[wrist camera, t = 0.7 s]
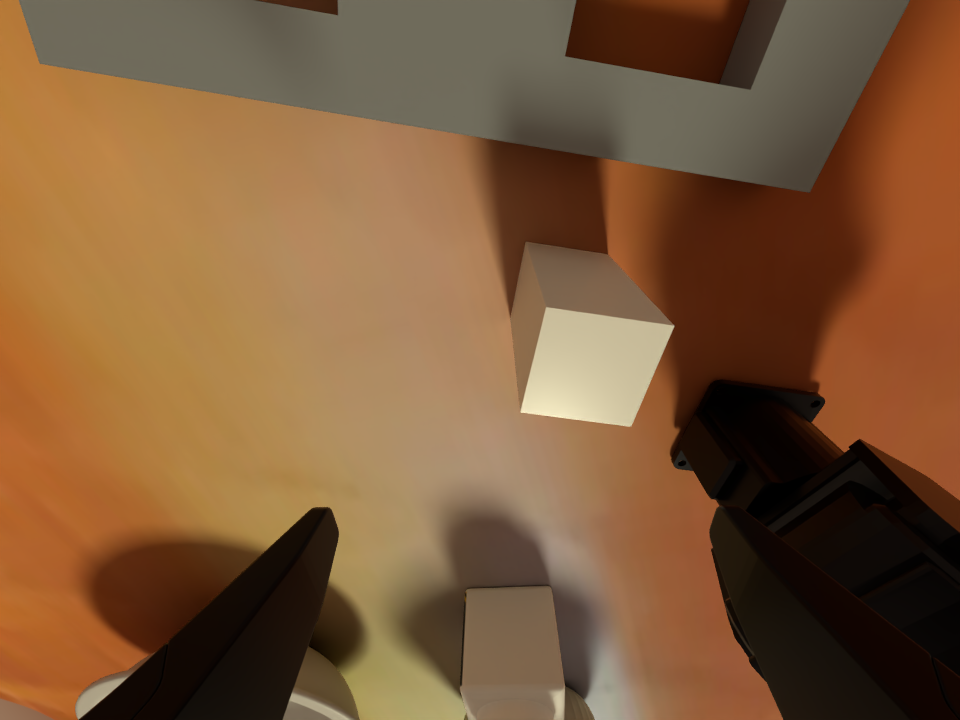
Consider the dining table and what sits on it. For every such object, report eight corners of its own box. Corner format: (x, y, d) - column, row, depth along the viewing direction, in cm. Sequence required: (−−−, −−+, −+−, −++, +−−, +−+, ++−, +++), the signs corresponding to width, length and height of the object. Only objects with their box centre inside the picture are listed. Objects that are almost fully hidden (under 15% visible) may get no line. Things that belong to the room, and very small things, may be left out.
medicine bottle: (464, 586, 33) (453, 796, 23) (551, 583, 33) (580, 796, 22) (473, 632, 37) (467, 830, 26) (552, 629, 36) (577, 831, 26)
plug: (607, 254, 19) (674, 325, 12) (584, 328, 21) (630, 426, 14) (525, 241, 19) (546, 307, 12) (510, 318, 21) (520, 412, 14)
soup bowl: (155, 687, 44) (105, 770, 38) (116, 558, 32) (36, 651, 27) (373, 717, 47) (356, 799, 41) (409, 608, 35) (394, 701, 29)
